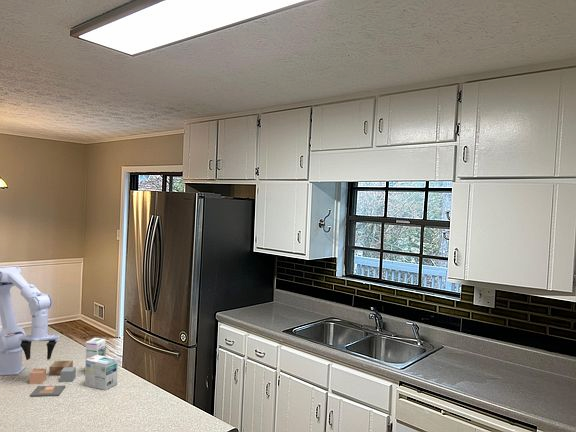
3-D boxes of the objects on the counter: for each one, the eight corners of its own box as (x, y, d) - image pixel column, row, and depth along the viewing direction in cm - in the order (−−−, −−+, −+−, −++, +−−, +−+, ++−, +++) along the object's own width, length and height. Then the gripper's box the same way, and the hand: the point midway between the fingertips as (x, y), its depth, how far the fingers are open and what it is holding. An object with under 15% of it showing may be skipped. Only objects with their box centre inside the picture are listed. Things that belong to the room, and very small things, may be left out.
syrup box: (97, 377, 184) (98, 342, 184) (84, 375, 186) (85, 341, 185) (105, 371, 190) (106, 338, 190) (93, 370, 191) (94, 337, 191)
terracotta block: (29, 384, 175) (29, 373, 174) (33, 379, 179) (34, 368, 179) (41, 383, 175) (42, 372, 175) (45, 379, 180) (46, 368, 180)
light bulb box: (117, 384, 178) (118, 358, 178) (105, 390, 172) (106, 363, 172) (96, 379, 182) (97, 353, 182) (83, 385, 176) (84, 359, 175)
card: (29, 396, 164) (29, 394, 164) (37, 387, 172) (37, 385, 172) (58, 395, 166) (58, 394, 166) (65, 386, 174) (65, 385, 174)
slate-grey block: (60, 382, 178) (60, 371, 177) (63, 378, 182) (64, 367, 182) (72, 382, 178) (72, 371, 178) (75, 377, 183) (75, 367, 183)
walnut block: (49, 376, 183) (49, 367, 183) (55, 369, 190) (55, 360, 190) (67, 376, 184) (67, 366, 184) (72, 369, 191) (72, 360, 191)
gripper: (15, 328, 171) (14, 363, 172) (55, 328, 174) (54, 362, 174) (22, 323, 178) (22, 356, 179) (61, 323, 181) (60, 356, 181)
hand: (38, 359), depth 177 cm, fingers open, 7 cm apart
